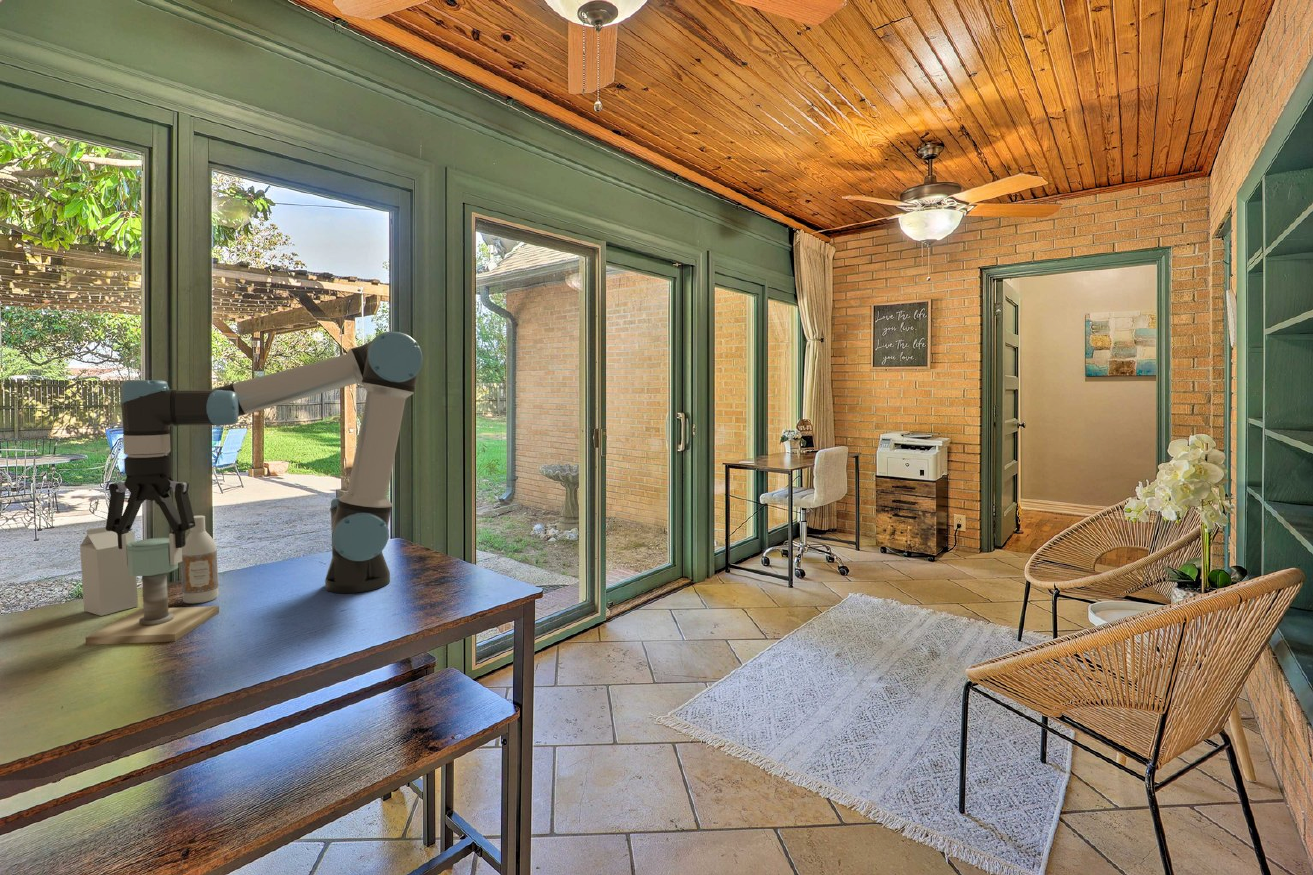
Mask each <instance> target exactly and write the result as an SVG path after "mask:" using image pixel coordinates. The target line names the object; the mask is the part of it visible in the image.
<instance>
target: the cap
mask: <svg viewBox="0 0 1313 875" xmlns="http://www.w3.org/2000/svg"><path fill="white" fill-rule="evenodd" d="M127 558H128V574H130V575H132V576H137V577H142V576H152V575H157V574H163V573H166V574H167V573H171V572H173V571H176V570H177V569H179V563H177V564H175V565H170V545H169V537H154V538H147V539H139V540H135V542H132V543H129V544H127Z"/></svg>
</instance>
